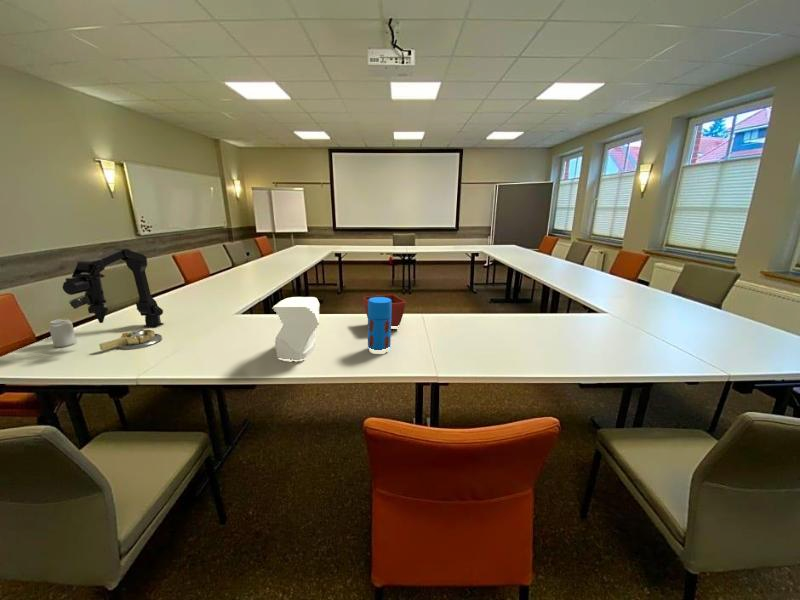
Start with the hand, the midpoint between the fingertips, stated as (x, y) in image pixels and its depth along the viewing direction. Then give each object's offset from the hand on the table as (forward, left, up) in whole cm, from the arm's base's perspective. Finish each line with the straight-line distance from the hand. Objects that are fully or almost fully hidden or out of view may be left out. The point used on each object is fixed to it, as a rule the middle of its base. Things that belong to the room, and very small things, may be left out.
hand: (101, 322), depth 149 cm
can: (+1, -19, -12) cm, 23 cm away
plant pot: (-47, +123, -12) cm, 132 cm away
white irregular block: (-6, +91, -12) cm, 91 cm away
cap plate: (-7, +10, -12) cm, 17 cm away
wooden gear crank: (-3, +8, -10) cm, 13 cm away
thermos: (-15, +125, -12) cm, 126 cm away
